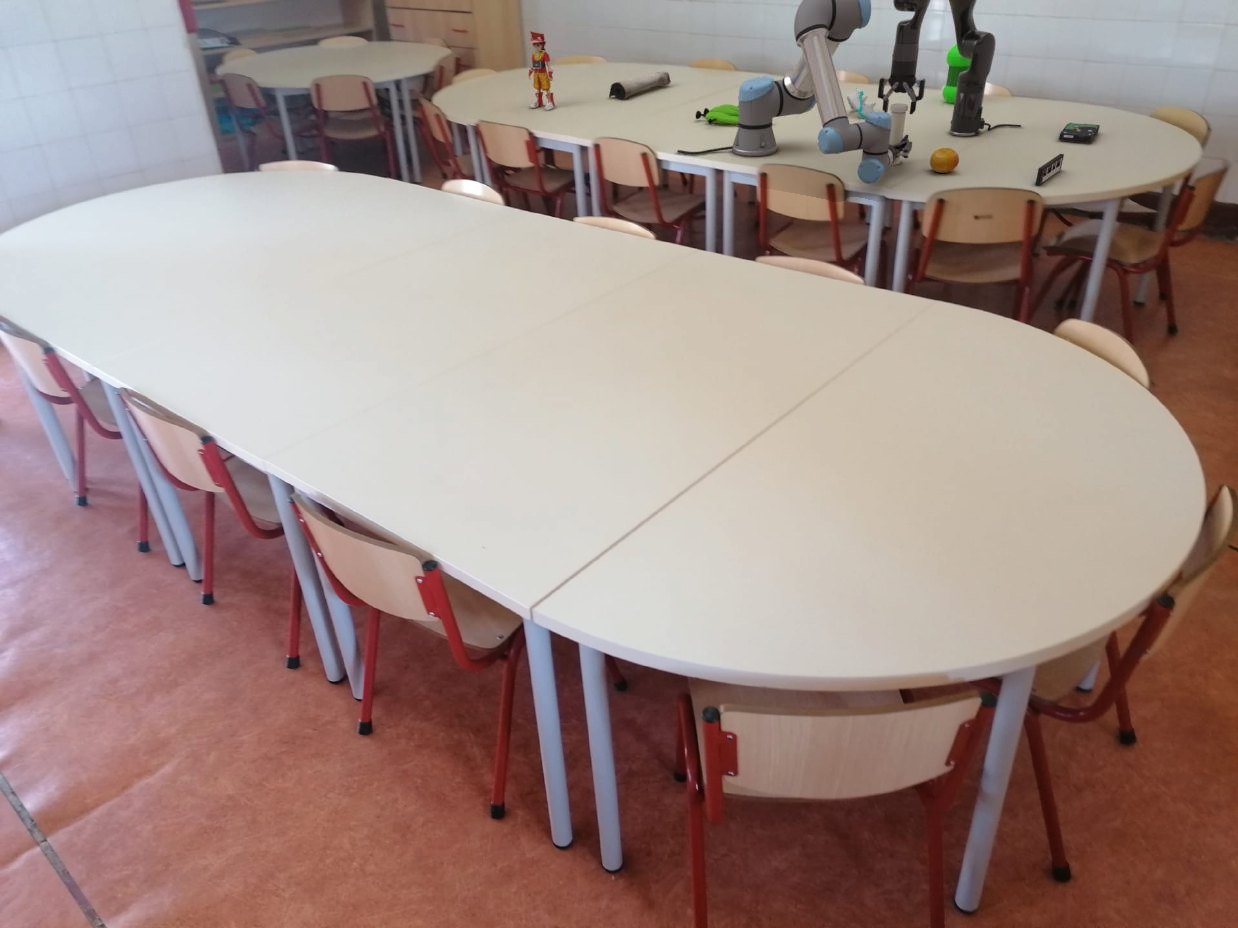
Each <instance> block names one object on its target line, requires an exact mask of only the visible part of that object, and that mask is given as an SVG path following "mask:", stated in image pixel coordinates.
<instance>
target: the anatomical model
mask: <svg viewBox="0 0 1238 928" xmlns="http://www.w3.org/2000/svg"><path fill="white" fill-rule="evenodd" d="M864 95H865V93H864V91H863V90H861V89H860V88H859V87H857V88H855V90H854V92H853V93H848V94H847V95H846V99H847V102H848V104H849V106H850V109H852V110H854V111H856V112H857V113H858V116H859V117H860V118H862V119H866V115H867V114H868V113H871V112H875V111H874V107H875V106H877V102H876V101H875V102H872V103H870V104H866V103H865V102H866V100H867V99H868V95H866V96H864ZM863 96H864V97H863Z"/></svg>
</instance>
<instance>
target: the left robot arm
mask: <svg viewBox="0 0 1238 928" xmlns="http://www.w3.org/2000/svg"><path fill="white" fill-rule="evenodd" d="M871 1H872V0H801V2H800V4H799V5H798V8H797V9H796V12H795V17H794V22H793V32H794V33H793V34H794V38H795V43H796V45H797V47H799V48H801V50H802V53H801V56H800V57H799V59H798V61H797V62H796V64H795V66H794V67H792V68H790V69H789V70H787V71H786V72H785V74H784V76H783V77H782V79H778V80H775V79H774V78H773V77H772V76H757V77H753V78H749V79H746V80H745V81H743V82H742V83H741V84H740V86H739V89H738V90H739V91H738V105H739V118H738V124H737V126H738V127H737V131H736V134H735V137H734V140H733V143H732V145H731V146H723V147H717V148H711V149H706V150H700V151H687V150H681V149H677V150H676V151H677V153H679V154H683V155H684V154H685V155H694V156H695V155H703V154H708V153H709V154H710V153H714V152H715V153H716V152H721V151H727V150H732V153H733V154H736V155H737V156H742V157H764V156H769V155H773V154H775V152H777V145H778V144H777V141H776V137H775V133H774V129H773V118H779V117H780V118H781V117H786V116H793V115H802V114H805V113H808V112H810V111H811V110H813V109H814V108H815V106H816V107H817V111H818V115H819V118H820V122H821V125H822V128H821V129H820V131H819V132H818V134H817V141H818V142H817V146H818V150H819V151H820V152H821V153H822V154H824V155H838V154H841V153H847V152H852V151H860V150H862V153H861V162H860V163H859V164H858V167H857V176H858V178H859V180H860V181H862V182H863V183H865V184H867V185H868V184H869V185H870V184H875V183H877V182H878V181H880V180H881V179H882V178H883V177H884V176H885V174H886V173H887V171H888V170H889V169H890V167H891V166H892V164H893V163H894V161H895V159H896V158H898V157H899V156H900V157H901V158H903V159H909V154H910V152H911V151H912V148H913V141H910V139H909V134H904V136H903V139H902V141H901V143H899V144H897V145H890V144H889V139H890V133H891V125H892V117H891V113H888V112H887V113H886V112H884V111H874V112H871V113H868V114H867V115H866V118H864V121H862V122H856V123H850V120H849V117H848V113H847V108H846V106H845V105H846V104H845V101H844V98H843V94H842V89H841V87H840V83H839V80H838V79H839V78H838V76H837V72H836V68H835V65H834V64H835V63H834V60H833V55H834V54H835V53H836V51H837V50H838V48H839V46H840V45H841V43H844V42H846V41H848V40H849V39H850V38H851V36H852V34H853V33H854V32H855V30H857V29H859V30H861V29H864V28H865V27H867V26H868V25H869V22H870V19H871V15H872V2H871Z"/></svg>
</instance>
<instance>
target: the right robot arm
mask: <svg viewBox="0 0 1238 928" xmlns="http://www.w3.org/2000/svg"><path fill="white" fill-rule="evenodd" d="M977 1H978V0H948V3H949V6H950V11H951V16H952V20H953V24H954V33H955V41H956V44H957V48H958V52H959V54H960V56H961V57H962V58H964V59H967V60H971V64H970V68H969V69H968V70H967V71H963V72H961V73H960V74H959V77H958V83H957V90H956V96H955V103H953V110H952V115H951V120H950V129H949V134H950V135H952V136H956V137H973V136H979V131H980V130H984V129H985V126H986V127H987V130H988V131H992V130H994V129H996V128H999V127H1013V128H1021V127H1022V124H1013V123H1012V124H1011V123H1010V124H1009V123H1001V124H996V125H993V126H991V124H990V123H988V122H986V120H985V118H984V117H982V115H983V109H984V107H983V102H984V96H985V90H986V83H987V79H988V77H989V74H990V73H991V69H992V65H993V61H994V56H995V51H996V44H997V43H996V37H995V35H994V34H993V33H992V32H989V31H984V30H978V29H977V26H976V23H975V19H974V10H975V7H976V4H977ZM892 2H893V7H894V9H895V10H896V11H898V12H904V13H905V12H907V13H914V14H913V16H912V17H911V18H909V19H903V20H901V21H899V22H898V23H897V25H896V32H895V40H894V46H893V49H892V56H891V58H892V59H891V67H890V76H889V77H885V76H882V77H880V79H879V81H878V90H877V98H878V99H880V100H882V112H886V113H888V112H889V104H890V99H889V98H890V97H891V95H892V94H893V93H895V94H900V93H901V94H907V96H908V97H909V99H910V100H911V102H910V106H909V115H913V114H914V113H915V111H916V109H917V102H919V101H922V99H924V97H925V96H924V95H925V89H926V88H925V87H926V79H925V78H921V79H919V78H917V77H916V74H917V66H918V59H919V50H920V38H921V37H920V36H921V30H922V24H923V22H924V18H925V16H926V14H927V13H926V12H927V11H928V8H929V5H930V3H931V0H892ZM887 83H888V84H889V86H890V88H889V90H888V91H887V92H886V93H884V91H885V86H886V84H887ZM916 84H917V85H916ZM915 85H916V86H917V87H918V95H917V94H916V92H915V89H914V86H915Z"/></svg>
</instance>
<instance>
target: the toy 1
mask: <svg viewBox="0 0 1238 928" xmlns="http://www.w3.org/2000/svg"><path fill="white" fill-rule="evenodd" d="M529 33H530V35H531V36H528V37H527V38H528V39H529V40H528V41H527V43H529V44H530V43H531V44H532V48H533V50H534V51H533V52H532V55H531V58H530V59H531V63H530V66H528V74H527V75H528V76H527V77H528V79H529V80H531V75H532V74H533V84H532V85H533V86H532V87H533V88H534V89H535V90H536V92H534V95H535V97H536V100H535V101H533V102H531V105H530V108H531V109H535V108H538V107H542V106H544V101H543V100H544V99H543V95H544V92H546V94H545V97H546V99H547V103H546V104H545V106H544V110H546V111H549V110H553V109H554V107H555V106H556V105H555V99H554V92H551V91H550V90H551V86H552V84H551V82H552V81H553V80H554V77H553V73H554V71H555V70H554V69H552V68H551V63H550V61H551V59H550V58H551V57H550V54H549V53H548V52H547V50H546V48H545V46H546V44H547V41H545V35H544V33H543V32H542V33H539V32H535V31H529Z"/></svg>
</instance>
